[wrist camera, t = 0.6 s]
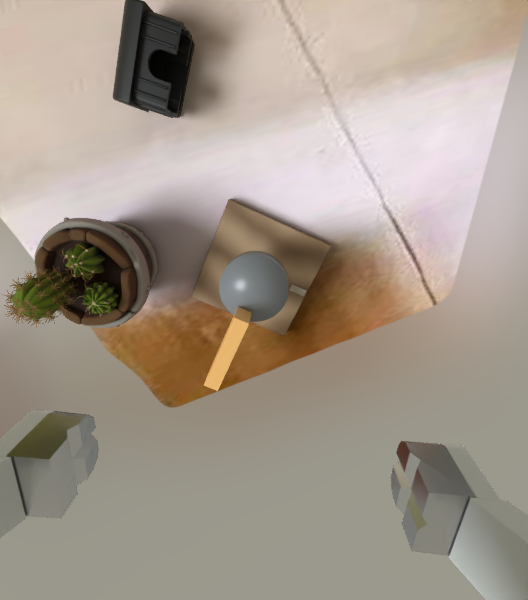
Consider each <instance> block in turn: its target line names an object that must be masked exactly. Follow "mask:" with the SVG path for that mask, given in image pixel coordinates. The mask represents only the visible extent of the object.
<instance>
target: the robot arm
mask: <svg viewBox="0 0 528 600" xmlns="http://www.w3.org/2000/svg"><path fill="white" fill-rule="evenodd" d="M95 428H96V426H95V422H94V417H92V416H90V415H86V414H76V413H67V412H57V411H54V412H53V411H45V410H34V411H31V412H29V413H28V414H27V415H26V416H25V417H24V418H22V419H21V420H20V421H19V422H18V423H17V424H16V425H15V426H14V427H13V428H12V429H11V430H9V431H8V432H7V433H6V434H5V435H4V436H3V437H2V438H1V439H0V538H1V537H2V536H3V535H5V534H6V533H7V532H9V531H10V530H11V529H13V528H14V527H15V526H17V525H18V524H19V523H21V522H22V521H23V520H25V519H26V516H31V517H47V518H62V517H63V515H64V514H65V512H66V511H67V509H68V508H69V506H70V505H71V503H72V502H73V500H74V499H75V497H76V495H77V494H78V493H77V485H79V484H80V483H82V482H83V481H85V480H86V479H88V477H89V475H90V474H91V472H92V471H93V469H94V466H95V464H96V461H97V458H98V441H97V440H96V439H95V437H94V436H93V435H92V434H91V433H92V432H93V430H94V429H95ZM396 453H397V456H398V458H399V462H397V464H395V465H394V466H393V469H392V474H391V489H392V494H393V498H394V501H395V504H396V507H397V508H398V509H400V510H401V511H402V512H403V513H404V517H403V521H402V525H403V528H404V531H405V533H406V536H407V539H408V542H409V545H410V548H411V551H415V552H423V553H432V554H439V555H448V556H449V558H450V559H451V561H452V562H453V563H454V564H455V565H456V566H457V568H458V569H459V570H460V571H461V572H462V573H463V574H464V575H465V577H466V578H467V579H468V580H469V581H470V582H471V583H472V585H473V586H474V587H475V588H476V589H477V590H478V591H479V593H480V594H481V595H482V596H483V597H484V598H485V599H486V600H528V515H527V514H525V513H524V512H523V511H521V510H520V509H518V508H517V507H515V506H514V505H512V504H511V503H510V502H509V501H504V500H501V499H500V498H499V496H498V495H497V494H496V492H495V491H494V490H493V488H492V486H491V485H490V483H489V482H488V480H487V479H486V477H485V476H484V474H483V473H482V472H481V471H480V469H479V467H478V466H477V464H476V463H475V461H474V460H473V458H472V457H471V455H470V454H469V453H468V451H467V450H466V448H465V447H463V446H462V445H458V444H442V443H441V444H437V443H424V442H410V441H401V442H400V443H399V445H398V448H397V452H396Z"/></svg>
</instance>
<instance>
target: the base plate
mask: <svg viewBox="0 0 528 600" xmlns="http://www.w3.org/2000/svg"><path fill="white" fill-rule="evenodd" d="M330 247H331V246H330V244H328V243H325V242H323V241H321V240H319V239H317V238H315V237H312V236H310V235H308V234H306V233H304V232H301V231H299V230H297V229H295V228H293V227H290V226H288V225H286V224H284V223H282V222H279V221H277V220H275V219H273V218H271V217H268V216H266V215H264V214H262V213H260V212H257V211H255V210H253V209H251V208H249V207H246V206H244V205H242V204H240V203H238V202H235V201H233V200H231V199H229V200H228V203H227V205H226V208H225V210H224V213H223V216H222V218H221V221H220V224H219V226H218V229H217V231H216V234H215V237H214V239H213V242H212V245H211V247H210V250H209V252H208V255H207V258H206V260H205V263H204V266H203V268H202V271H201V273H200V276H199V279H198V281H197V284H196V287H195V289H194V292H193V295H192V297H193V298H195V299H198V300H200V301H202V302H205V303H207V304H210V305H212V306H214V307H217V308H219V309H221V310H224V311H226V312H229V311H228V310H227V308H226V307H225V306H224V304H223V302H222V300H221V297H220V293H219V283H220V279H221V276H222V274H223V272H224V270H225V269H226V267H227V265H228V264H229V263H230V261H231V260H232V259H233V258H235V257H236V256H238V255H239V254H241V253H244V252H247V251H262V252H266V253H269V254H271V255H272V256H274V257H275V258H277V259H278V260H279V261H280V262H281V263H282V265H283V266H284V268H285V270H286V272H287V275H288V298H287V301H286V303H285V305H284V307H283V308H282V310H281V311H280V312H279V313H278V314H276V315H275V316H274V317H272V318H270V319H268V320H264V321H259V322H252V323H255V324H257V325H259V326H262V327H264V328H266V329H269V330H271V331H274V332H276V333H278V334H281V335H283V336H285V334H286V332H287V330H288V328H289V326H290V324H291V322H292V320H293V318H294V317H295V315H296V313H297V311H298V309H299V307H300V305H301V303H302V301H303V299H304V297H305V295H306V294H307V292H308V290H309V288H310V286H311V284H312V282H313V280H314V278H315V276H316V274H317V272H318V270H319V269H320V267H321V265H322V263H323V261H324V259H325V257H326V255H327V253H328V251H329V249H330ZM229 313H230V312H229ZM231 314H232V313H231Z"/></svg>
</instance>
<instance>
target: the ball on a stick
mask: <svg viewBox="0 0 528 600" xmlns="http://www.w3.org/2000/svg"><path fill="white" fill-rule="evenodd" d="M219 293H220V297H221V300H222V302H223V304H224V306H225V307H226V308H227V310H228V311H229V312H230V313H232V314H233V315H234V316H233V319H232V321H231V323H230V325H229V328H228V330H227V332H226V334H225V337H224V339H223V341H222V343H221V346H220V348H219V350H218V352H217V355H216V357H215V359H214V362H213V364H212V366H211V368H210V371H209V373H208V376H207V378H206V381H205V384H204V386H207V387H209V388H212V389H214V390H217V391H218V389H219V387H220V385H221V383H222V380H223V378H224V376H225V374H226V372H227V370H228V368H229V365H230V363H231V361H232V359H233V357H234V355H235V353H236V350H237V348H238V346H239V344H240V342H241V340H242V338H243V336H244V333H245V331H246V329H247V327H248V325H249V322H259V321H264V320H268V319H270V318H272V317H274V316H275V315H276V314H278V313H279V312H280V311H281V310H282V308H283V307H284V305H285V303H286V301H287V298H288V275H287V272H286V270H285V268H284V266H283V265H282V263H281V262H280V261H279V260H278V259H277V258H275V257H274V256H272V255H271V254H269V253H266V252H262V251H247V252H244V253H241V254H239V255H238V256H236V257H235V258H233V259H232V260H231V261H230V263H229V264H228V265H227V267H226V269H225V270H224V272H223V274H222V276H221V279H220V283H219Z"/></svg>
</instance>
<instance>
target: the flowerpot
mask: <svg viewBox="0 0 528 600" xmlns="http://www.w3.org/2000/svg"><path fill="white" fill-rule="evenodd" d="M157 266H158V264H157V258H156V254H155V251H154V249H153V247H152V245H151V243H150V242H149V240H148V239H147V238H146V236H145V235H144V233H143V232H141V231H139V230H137V229H136V228H134V227H131V226H129V225H126V224H123V223H118V222H108V221H106V222H103V221H100V220H96V219H88V218H73V219H69V218H64V222H62V223H59V224H58V225H56V226H54V227H53V228H52V229H51V230H49V231H48V232H47V233H46V234H45V235H44V237H43V238H42V240H41V241H40V243H39V245H38V247H37V250H36V253H35V271H36V274H35V275H36V276H37V277H36V278H32V276H31V273H30V276H29V275H28V276H26V277H28V278H27V280H28V281H27V282H26V283H23V284H19V282H18V284H17V285H15V284H14V286H16V288H17V289H16V293H15V294H14V295H11V296H9V297H10V302H7V303H11V301H13V303H14V304H13V305H11V306H12V307H8V306H6V307H8V308H12V309H13V310H14V311H13V312H12V313H9V314H11V315H13V314H16V315H17V316H18V320H17V321H19V318H20V317H25V318H27V317H29V318H30V320H31V319H33V321H34V320H35V322H36V324H37V323H39V319H40V318H42V317H44V318H45V317H46V318H48V319H49V318H52V317H53V316H52V315H53V313H55V311H58V312H59V313H60V314H62V315H63V316H65V317H66V318H67V319H69V320H71V321H73V322H74V323H77V324H82V325H85V326H90V327H96V328H109V327H113V326H116V327H119V326H120V324H123V323H125V322H126V321H128V320H129V319H131V318H132V317H133V316H134V315H135V314H137V313H138V312H139V311H140V310H141V308H142V307H143V305H144V304H145V302H146V300H147V297H148V295H149V291H150V286H151V285H152V283H153V282H154V280H155V277H156V274H157V273H158V272H159V271H158V269H157ZM35 275H34V276H35ZM34 276H33V277H34ZM18 280H19V279H18ZM15 283H17V282H15ZM12 286H13V285H12ZM14 288H15V287H14ZM14 291H15V290H14ZM7 297H8V296H7ZM9 297H8V298H9ZM11 299H12V300H11ZM7 300H8V299H7ZM14 305H15V307H13V306H14ZM15 310H16V311H15ZM14 312H15V313H14ZM18 314H19V315H21V316H20V317H19V315H18ZM9 316H10V315H9ZM13 318H14V317H13ZM29 318H27V320H26V321H28V319H29ZM54 318H55V317H53V319H54ZM21 319H22V318H21ZM46 321H47V320H46ZM49 321H50V320H49ZM29 322H30V321H29ZM35 322H34V323H35ZM32 325H33V324H32Z"/></svg>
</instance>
